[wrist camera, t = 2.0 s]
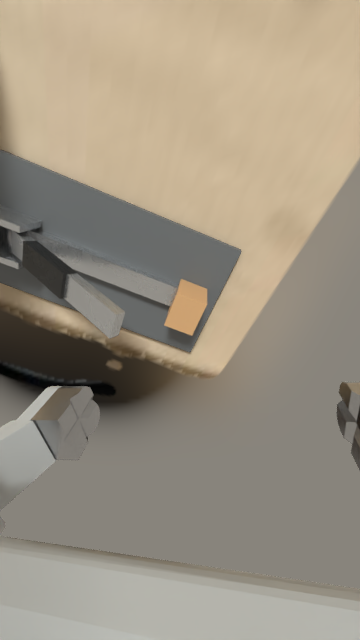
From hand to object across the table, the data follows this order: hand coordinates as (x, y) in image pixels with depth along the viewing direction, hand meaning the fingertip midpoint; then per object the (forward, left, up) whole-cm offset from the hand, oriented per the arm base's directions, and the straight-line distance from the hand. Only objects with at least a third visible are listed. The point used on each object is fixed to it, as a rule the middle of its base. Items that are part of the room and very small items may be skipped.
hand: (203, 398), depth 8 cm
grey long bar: (-12, -9, -27) cm, 31 cm away
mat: (-11, -9, -28) cm, 32 cm away
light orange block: (+1, -9, -27) cm, 29 cm away
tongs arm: (-14, -9, -21) cm, 27 cm away
